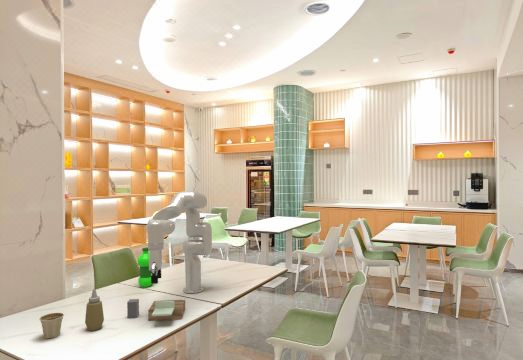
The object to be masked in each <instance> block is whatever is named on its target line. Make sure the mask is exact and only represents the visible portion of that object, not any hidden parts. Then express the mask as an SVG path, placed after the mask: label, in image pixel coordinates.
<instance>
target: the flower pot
mask: <svg viewBox="0 0 523 360" xmlns="http://www.w3.org/2000/svg"><path fill="white" fill-rule="evenodd" d="M64 316H65V313H63V312H52V313H45V314H44V315H41V316H40V317H39V321H40V323H41V328H42V334H43V338H44V339H51V338H52V339H54V338H57V337H59V336H60V335H61V330H62V323H63V322H62V321H63V319H64Z"/></svg>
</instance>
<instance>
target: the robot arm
mask: <svg viewBox="0 0 523 360" xmlns="http://www.w3.org/2000/svg"><path fill="white" fill-rule="evenodd" d="M207 205H208V199H207V197H206V195H205V194H203V193H200V192H197V191H188V190H187V191H183V190H182V191H179V192H176V194H175V195H174V196H173V198H172V199H171V200H170V203H168V205H166V206H165V207H163V208H160V209H158V210H157V211H155V212H154V213H153V214H152V215H151V216H150V218H149V220H148V221H147V225H146V230H147V247H148V250H149V251H148V252H149V271H151V270H152V272H151V284H152V285H154V284H155V285H156V284H157V285H158V284H159V279H161V278H162V264H163V255H162V254H163V252H162V251H163V250H164V249H165V247H164V246H165V243H164V240H165V239H164V235H171V234H172V233H174V232H175V229H176V224H175V222H174V221H172V219H175V218H178V217H179V216H181V215H182V213H183V211H184V213H185V217H186V218H185V220H186V221H185V234H186V236H187V237H189V238H197V239H188V240H186V241H184V242H183V252H184V253H183V254H184V259H185V261H184V265H185V266H184V267H185V269H184V270H185V287H184V288H182V292H183V293H185V294H199V293H201V292H203V291H204V289H205V288H204V287H203V286H202V261H201V259H200V257H199V256H209V255H211V253H212V250H213V248H212V247H213V242H212V241H213V235H212V234H213V227H212V226H211V223H209V222H207V221H206V222H205V221H203V222H202V221H201V214H200V211H199V210H198V209H205V208H206V206H207ZM199 238H202V239H199Z"/></svg>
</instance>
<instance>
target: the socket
mask: <svg viewBox="0 0 523 360" xmlns="http://www.w3.org/2000/svg"><path fill="white" fill-rule="evenodd" d="M158 301H159V300H154V301H153V303H152V304H151V305H150V307H149V309H148V310H147V314H148V316H147V317H148V319H147V320H148V321H149V322H151V321H170V320H172V321H173V320H182V319H183V316H184V313H185V311H186V299H168V300H167V299H165V300H164V299H163V301H174V311H173V313H172V315H168V316H152V313H153V312H154V310H155V302H158Z"/></svg>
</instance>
